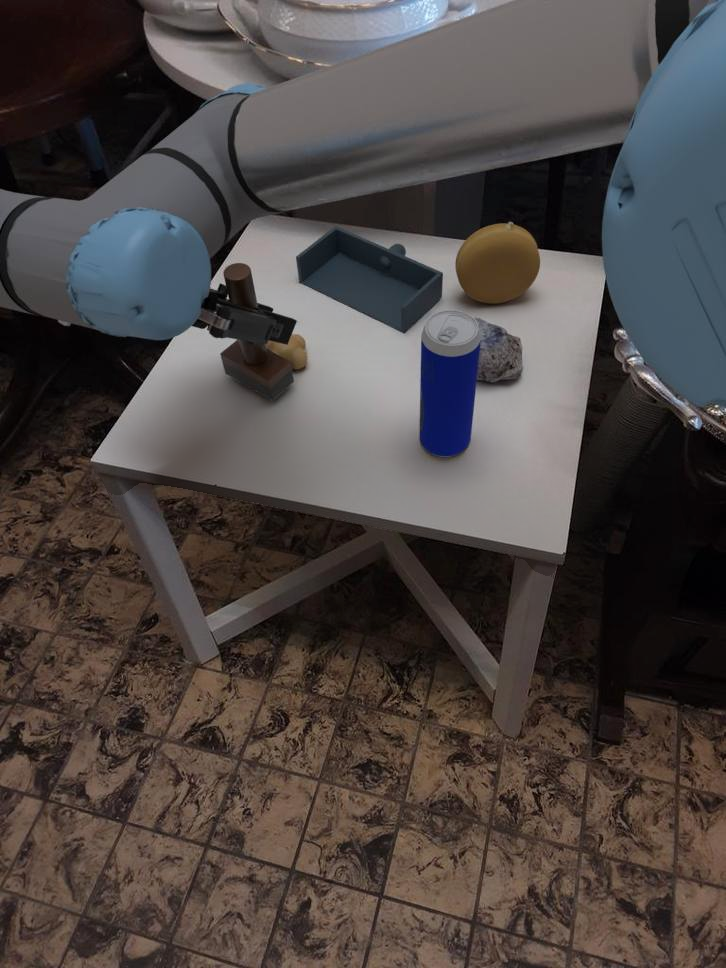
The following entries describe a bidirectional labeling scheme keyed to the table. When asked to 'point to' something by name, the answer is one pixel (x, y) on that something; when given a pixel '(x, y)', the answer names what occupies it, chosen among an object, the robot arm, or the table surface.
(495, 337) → the mineral specimen
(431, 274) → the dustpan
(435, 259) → the table surface
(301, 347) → the tan lobed cluster
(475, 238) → the tan flat oval
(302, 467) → the table surface
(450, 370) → the beverage can
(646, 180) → the robot arm
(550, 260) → the table surface
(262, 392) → the brush
